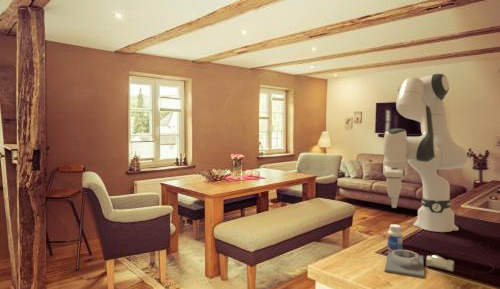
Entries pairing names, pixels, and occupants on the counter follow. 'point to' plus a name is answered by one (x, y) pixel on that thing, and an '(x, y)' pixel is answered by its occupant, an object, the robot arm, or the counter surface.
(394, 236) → the pill bottle
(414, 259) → the steel collar
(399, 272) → the mat
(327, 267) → the counter surface
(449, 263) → the pipe fitting
